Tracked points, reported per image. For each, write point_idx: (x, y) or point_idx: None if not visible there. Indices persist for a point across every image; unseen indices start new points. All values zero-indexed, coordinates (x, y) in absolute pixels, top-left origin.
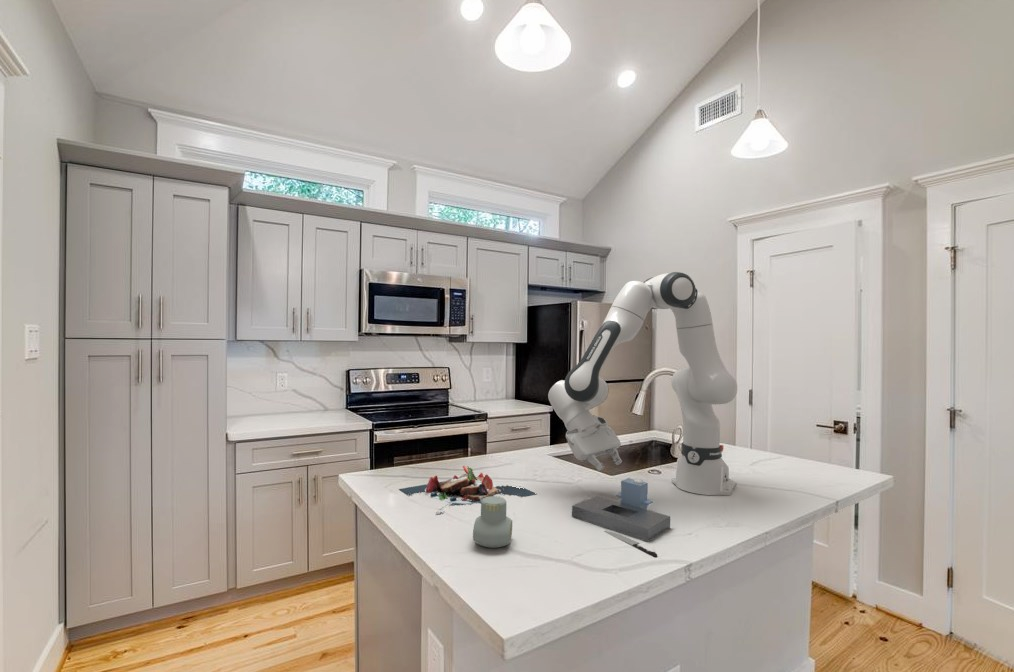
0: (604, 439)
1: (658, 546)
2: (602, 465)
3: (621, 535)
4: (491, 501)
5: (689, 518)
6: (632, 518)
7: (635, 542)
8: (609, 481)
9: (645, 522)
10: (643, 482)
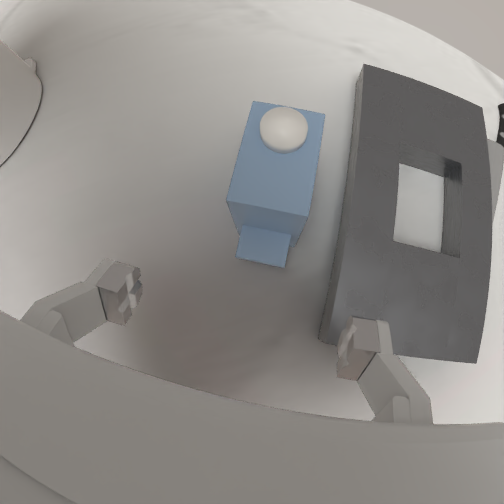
0: (42, 447)
1: None
2: (371, 328)
3: None
4: None
5: (245, 59)
6: (458, 149)
7: (492, 145)
8: None
9: (455, 115)
10: (262, 115)
